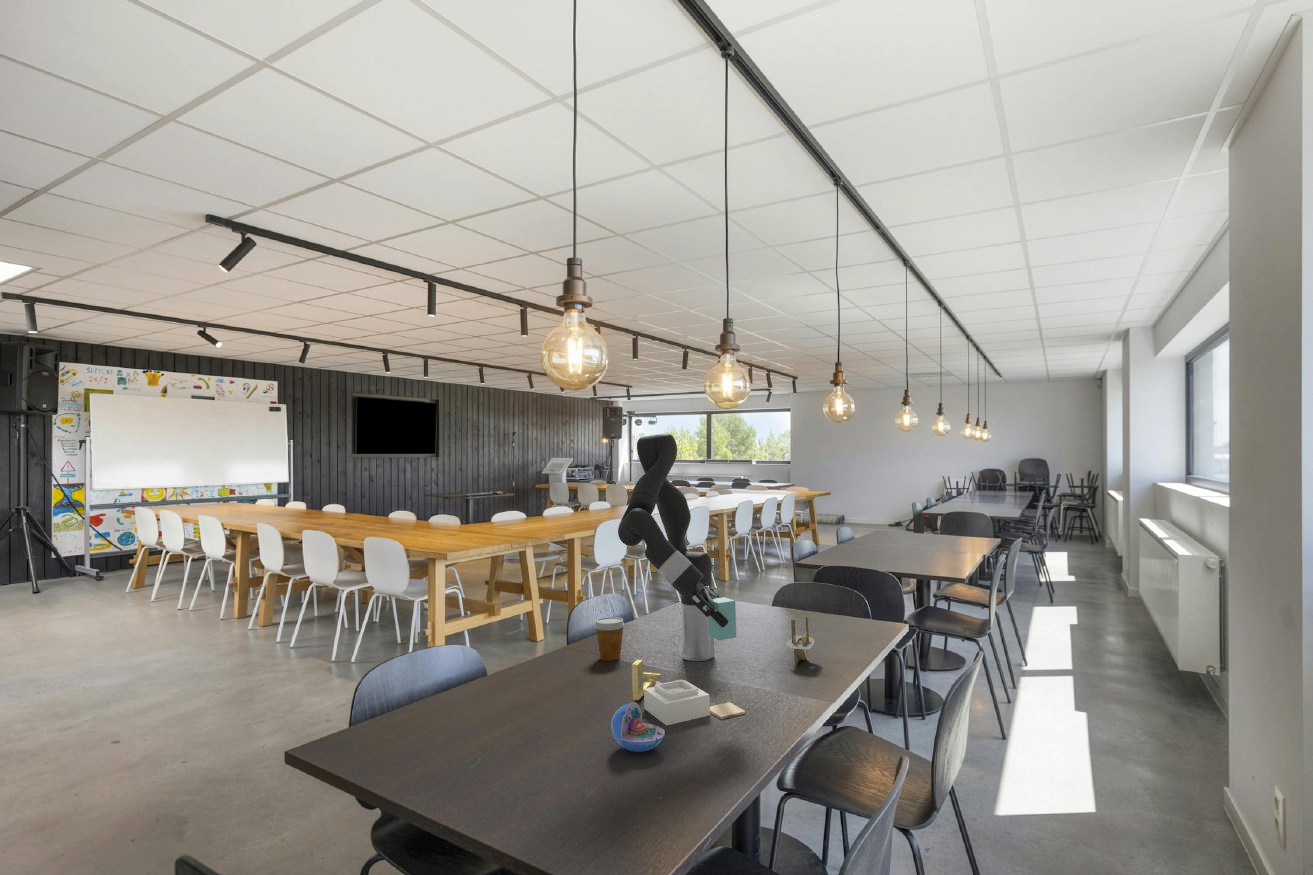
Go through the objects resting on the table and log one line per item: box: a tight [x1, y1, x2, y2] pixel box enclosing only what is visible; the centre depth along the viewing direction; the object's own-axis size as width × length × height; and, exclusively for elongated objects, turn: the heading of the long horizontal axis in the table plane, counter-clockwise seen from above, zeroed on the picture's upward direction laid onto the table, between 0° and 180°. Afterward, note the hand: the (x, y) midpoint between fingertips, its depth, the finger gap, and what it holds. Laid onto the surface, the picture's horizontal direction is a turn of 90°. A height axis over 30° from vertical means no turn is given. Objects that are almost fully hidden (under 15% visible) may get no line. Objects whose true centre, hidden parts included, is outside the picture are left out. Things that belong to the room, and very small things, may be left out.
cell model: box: [610, 701, 665, 753], centre depth 140 cm, size 10×12×10 cm
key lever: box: [631, 659, 662, 701], centre depth 174 cm, size 14×5×9 cm, turn 161°
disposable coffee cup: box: [594, 616, 625, 662], centre depth 206 cm, size 10×10×12 cm
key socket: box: [643, 680, 663, 687], centre depth 179 cm, size 6×6×1 cm
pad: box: [710, 701, 746, 720], centre depth 160 cm, size 7×7×1 cm
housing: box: [643, 678, 711, 726], centre depth 160 cm, size 12×12×6 cm
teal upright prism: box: [708, 596, 737, 641], centre depth 160 cm, size 5×5×9 cm
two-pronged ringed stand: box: [785, 616, 816, 668], centre depth 196 cm, size 21×25×14 cm
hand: (727, 620), depth 160 cm, fingers closed on teal upright prism, 7 cm apart
